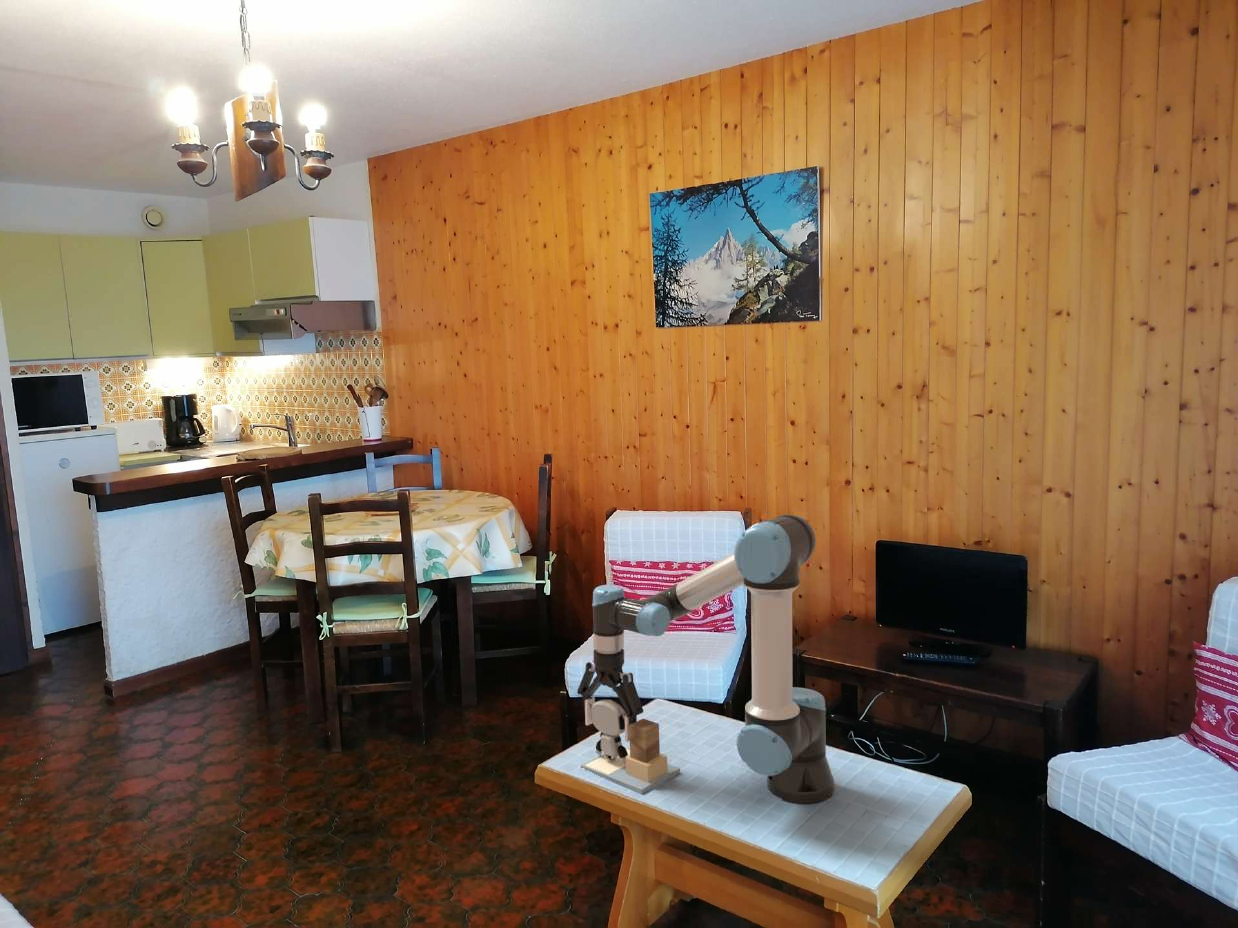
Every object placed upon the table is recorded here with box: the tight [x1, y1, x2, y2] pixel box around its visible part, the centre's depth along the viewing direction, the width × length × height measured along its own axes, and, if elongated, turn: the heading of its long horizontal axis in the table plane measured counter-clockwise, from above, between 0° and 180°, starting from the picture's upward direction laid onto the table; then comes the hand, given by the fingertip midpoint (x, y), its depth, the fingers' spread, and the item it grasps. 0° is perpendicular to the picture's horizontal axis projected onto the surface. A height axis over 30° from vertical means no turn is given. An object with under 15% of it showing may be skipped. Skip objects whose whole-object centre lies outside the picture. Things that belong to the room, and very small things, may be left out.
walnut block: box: [629, 718, 661, 763], centre depth 209 cm, size 5×5×8 cm
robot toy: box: [588, 699, 628, 764], centre depth 216 cm, size 12×4×15 cm, turn 45°
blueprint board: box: [580, 747, 681, 795], centre depth 213 cm, size 20×14×5 cm
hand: (609, 731), depth 217 cm, fingers open, 13 cm apart
